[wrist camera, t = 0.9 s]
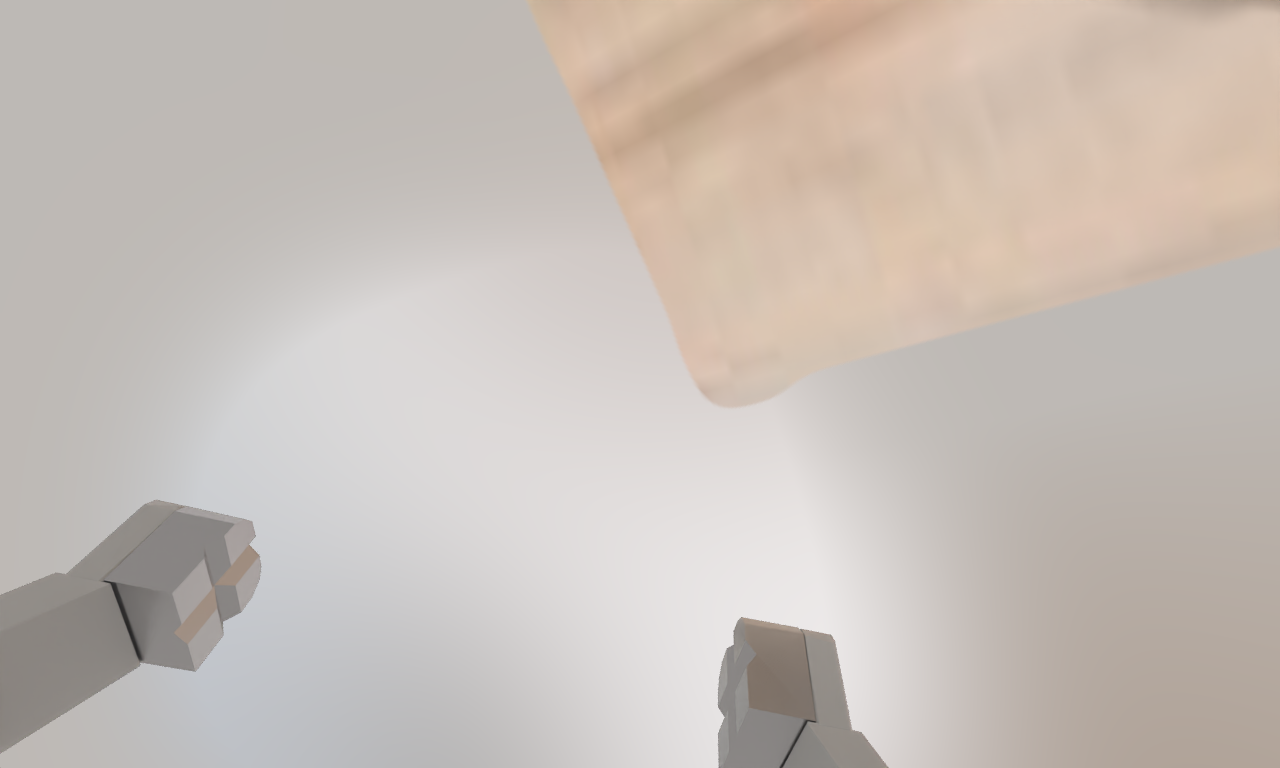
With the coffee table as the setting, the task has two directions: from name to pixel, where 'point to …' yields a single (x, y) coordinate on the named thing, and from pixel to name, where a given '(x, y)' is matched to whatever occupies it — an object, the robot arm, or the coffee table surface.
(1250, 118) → the coffee table surface
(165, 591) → the robot arm
